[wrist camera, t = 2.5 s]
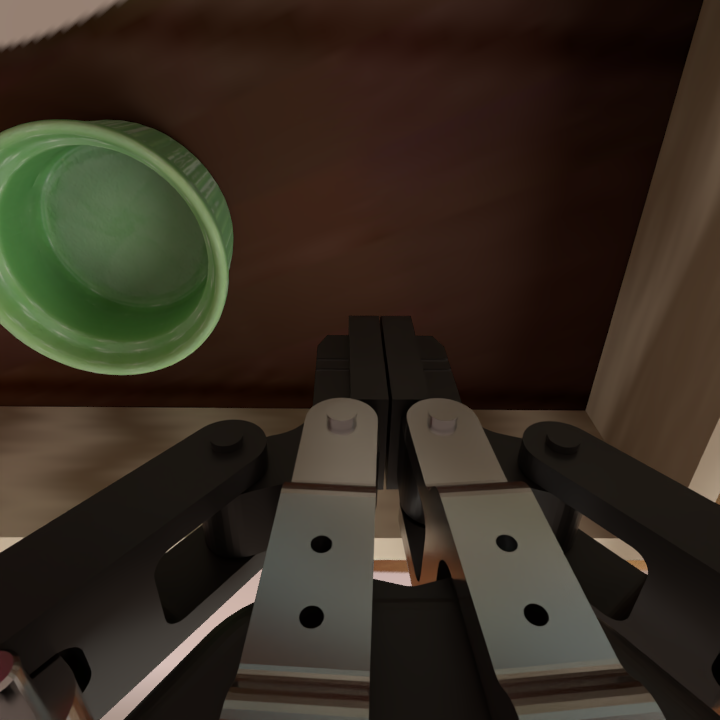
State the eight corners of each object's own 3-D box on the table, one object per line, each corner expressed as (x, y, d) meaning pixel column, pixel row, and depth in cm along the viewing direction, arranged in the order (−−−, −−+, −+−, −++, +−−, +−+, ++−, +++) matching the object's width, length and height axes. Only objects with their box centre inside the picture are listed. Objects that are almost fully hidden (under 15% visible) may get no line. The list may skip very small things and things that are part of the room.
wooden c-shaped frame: (764, -81, 17) (1038, -157, 10) (603, 429, 28) (686, 560, 21) (-263, -110, 16) (-701, -212, 10) (-29, 425, 27) (-159, 559, 20)
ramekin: (148, 358, 25) (113, 415, 22) (-28, 207, 22) (-108, 243, 18) (292, 243, 23) (281, 285, 19) (119, 46, 19) (61, 48, 15)
